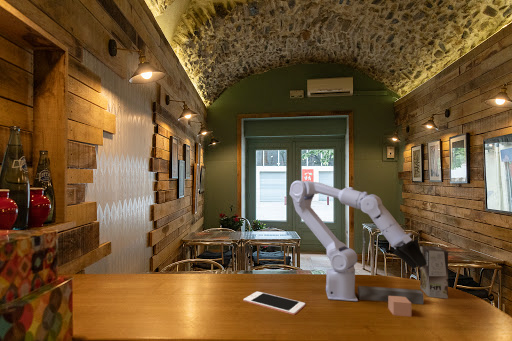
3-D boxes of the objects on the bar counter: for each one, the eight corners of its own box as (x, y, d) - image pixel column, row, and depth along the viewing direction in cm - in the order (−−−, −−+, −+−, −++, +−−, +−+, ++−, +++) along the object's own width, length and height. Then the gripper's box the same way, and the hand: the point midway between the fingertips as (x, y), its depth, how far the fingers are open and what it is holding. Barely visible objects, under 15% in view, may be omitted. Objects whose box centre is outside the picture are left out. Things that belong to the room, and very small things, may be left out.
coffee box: (448, 299, 103) (449, 251, 104) (428, 297, 104) (428, 250, 105) (438, 289, 112) (438, 246, 113) (419, 288, 113) (419, 244, 114)
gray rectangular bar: (359, 299, 101) (359, 288, 101) (357, 296, 104) (357, 285, 104) (423, 304, 98) (423, 293, 98) (419, 300, 101) (419, 290, 101)
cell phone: (256, 293, 104) (256, 291, 104) (305, 306, 95) (305, 302, 95) (242, 302, 97) (242, 299, 97) (294, 316, 87) (294, 312, 87)
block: (393, 315, 89) (393, 301, 89) (388, 308, 94) (388, 295, 94) (411, 317, 88) (411, 303, 89) (405, 309, 93) (405, 296, 94)
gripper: (405, 215, 88) (439, 256, 83) (394, 225, 102) (423, 261, 96) (385, 228, 88) (418, 270, 83) (377, 236, 102) (404, 273, 96)
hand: (419, 266), depth 89 cm, fingers open, 7 cm apart
